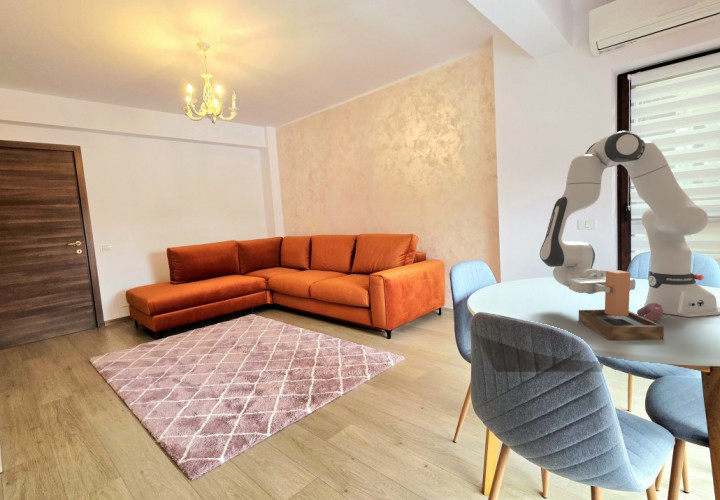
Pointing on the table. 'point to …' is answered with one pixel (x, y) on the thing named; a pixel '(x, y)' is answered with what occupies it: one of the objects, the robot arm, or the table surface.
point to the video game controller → (651, 311)
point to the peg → (617, 293)
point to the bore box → (621, 326)
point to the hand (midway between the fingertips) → (619, 289)
